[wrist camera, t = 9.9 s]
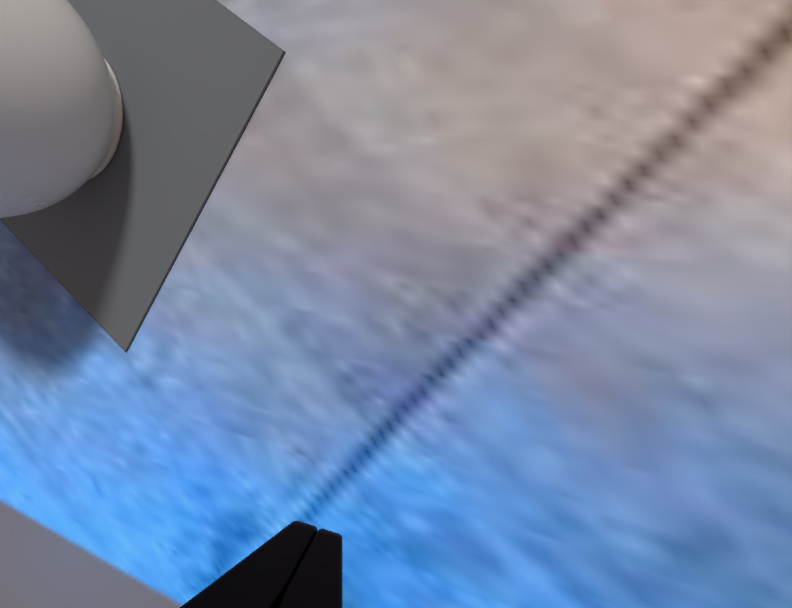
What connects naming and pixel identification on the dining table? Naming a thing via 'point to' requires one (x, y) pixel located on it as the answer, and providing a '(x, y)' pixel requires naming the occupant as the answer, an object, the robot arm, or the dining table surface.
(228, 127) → the placemat
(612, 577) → the dining table surface
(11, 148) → the lidded bowl
